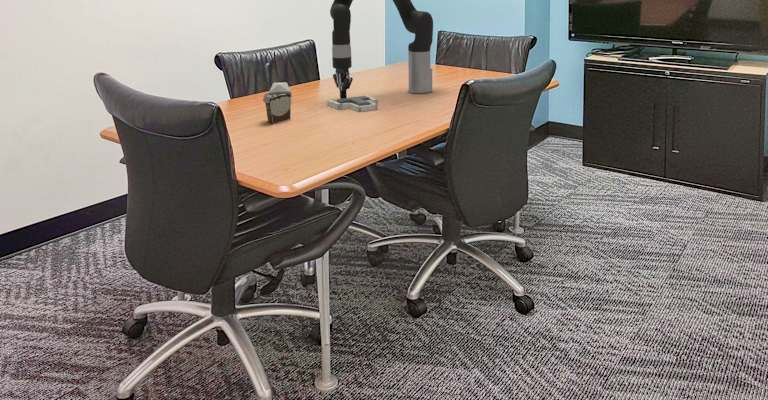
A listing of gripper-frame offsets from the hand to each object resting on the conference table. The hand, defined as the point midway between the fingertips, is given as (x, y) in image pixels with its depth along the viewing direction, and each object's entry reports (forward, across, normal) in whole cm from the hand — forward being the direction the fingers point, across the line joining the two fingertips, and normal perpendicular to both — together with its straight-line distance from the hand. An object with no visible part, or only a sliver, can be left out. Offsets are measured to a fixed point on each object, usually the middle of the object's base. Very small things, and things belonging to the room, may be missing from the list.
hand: (343, 99), depth 304 cm
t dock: (+1, -12, 0) cm, 12 cm away
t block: (+1, -13, +1) cm, 13 cm away
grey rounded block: (+1, +12, +22) cm, 25 cm away
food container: (+1, -16, +36) cm, 40 cm away
